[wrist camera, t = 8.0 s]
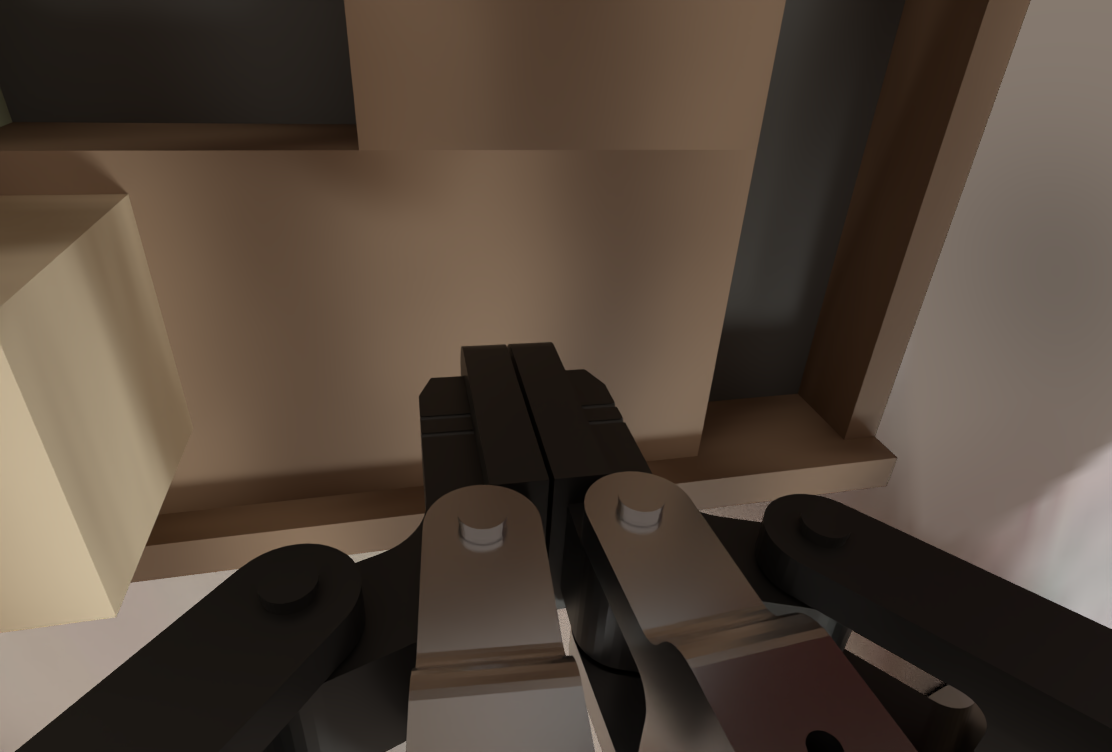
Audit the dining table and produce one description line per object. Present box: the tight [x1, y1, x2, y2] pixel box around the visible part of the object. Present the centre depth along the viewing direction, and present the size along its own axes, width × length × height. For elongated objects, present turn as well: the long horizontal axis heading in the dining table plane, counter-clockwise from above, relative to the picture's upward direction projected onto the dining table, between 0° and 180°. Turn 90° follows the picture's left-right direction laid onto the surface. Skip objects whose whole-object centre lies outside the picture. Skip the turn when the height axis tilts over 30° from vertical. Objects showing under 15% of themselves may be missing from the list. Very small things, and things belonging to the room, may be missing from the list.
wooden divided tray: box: [0, 0, 1031, 583], centre depth 12 cm, size 25×18×6 cm
